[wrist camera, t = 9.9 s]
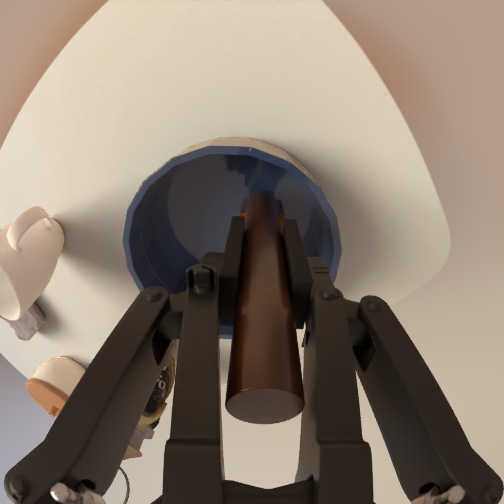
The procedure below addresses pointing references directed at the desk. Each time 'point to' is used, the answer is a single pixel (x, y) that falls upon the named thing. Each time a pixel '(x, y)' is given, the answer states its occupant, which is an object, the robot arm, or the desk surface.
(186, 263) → the stir bowl
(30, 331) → the stone block
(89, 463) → the robot arm
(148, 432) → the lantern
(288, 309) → the stick
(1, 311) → the mug
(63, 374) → the lidded bowl
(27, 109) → the desk surface
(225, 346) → the desk surface
